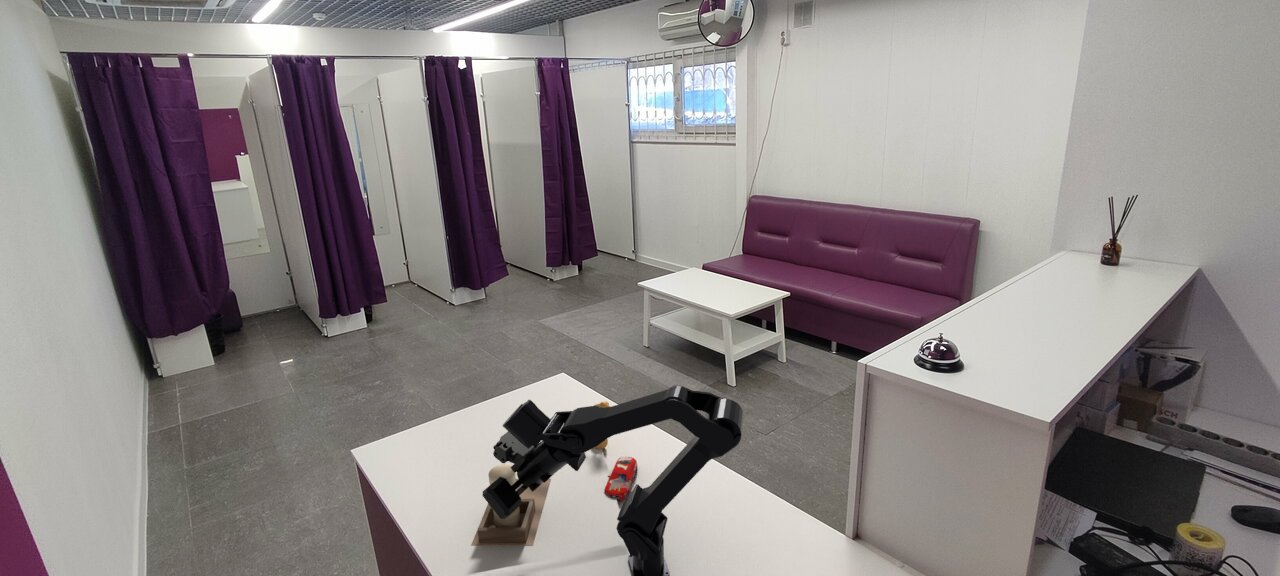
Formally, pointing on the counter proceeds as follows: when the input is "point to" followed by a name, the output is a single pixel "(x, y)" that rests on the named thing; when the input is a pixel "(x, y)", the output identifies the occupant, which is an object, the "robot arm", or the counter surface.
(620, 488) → the race car
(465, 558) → the counter surface
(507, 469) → the post
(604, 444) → the figurine
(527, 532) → the jig board
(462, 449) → the counter surface
